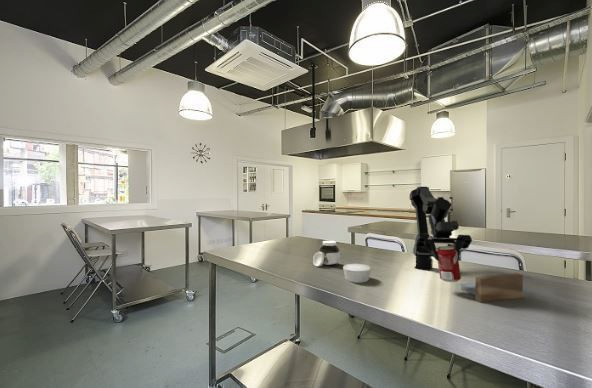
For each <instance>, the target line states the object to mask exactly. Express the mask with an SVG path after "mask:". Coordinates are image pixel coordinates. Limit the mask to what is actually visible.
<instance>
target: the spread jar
mask: <svg viewBox="0 0 592 388" xmlns="http://www.w3.org/2000/svg"><path fill="white" fill-rule="evenodd" d="M340 261H341V251H340V247H338V245H337V241H336V240H323V241H322V245H321V246H320V248H319V250H318V252H315V254H314V255H313V258H312V263H313V264H312V265H314V266H315V267H321V266H324V267H329V268H331V267H336V266H337V265H338V264H339V263H340Z"/></svg>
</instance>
